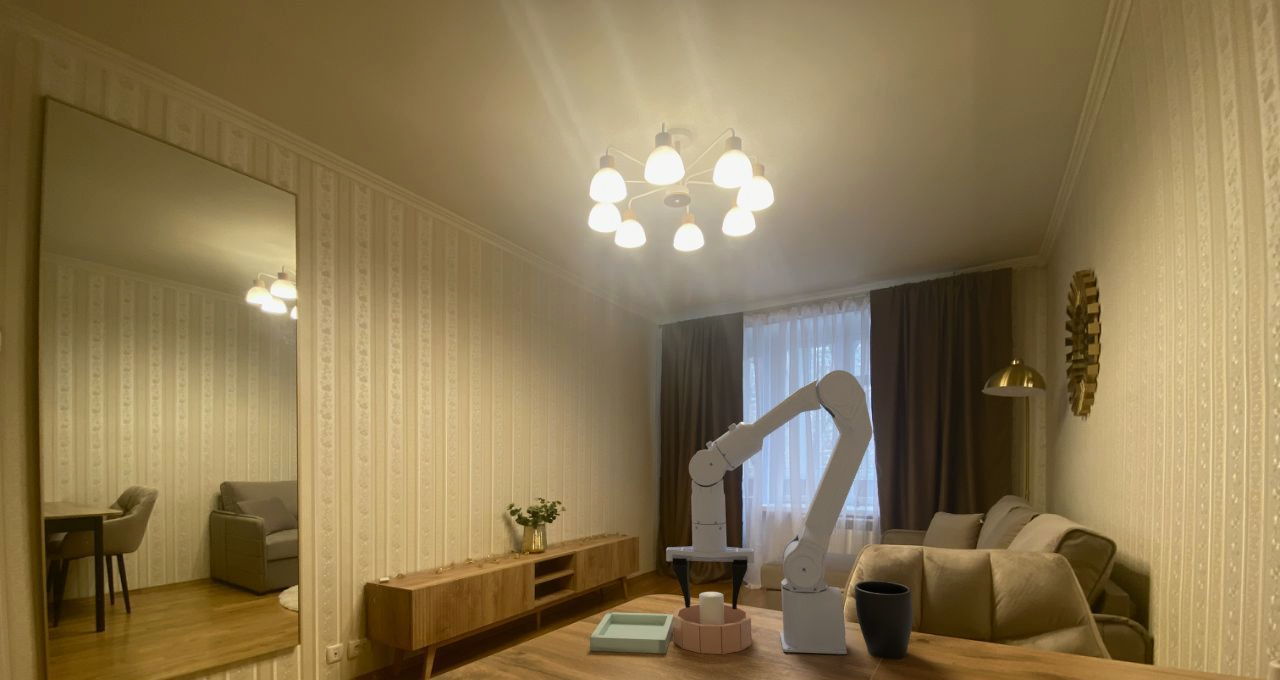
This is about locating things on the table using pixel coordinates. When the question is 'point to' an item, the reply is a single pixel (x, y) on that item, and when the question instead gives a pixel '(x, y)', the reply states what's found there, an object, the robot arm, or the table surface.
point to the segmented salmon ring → (712, 630)
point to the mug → (884, 617)
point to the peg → (711, 608)
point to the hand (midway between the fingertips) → (711, 606)
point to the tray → (633, 633)
